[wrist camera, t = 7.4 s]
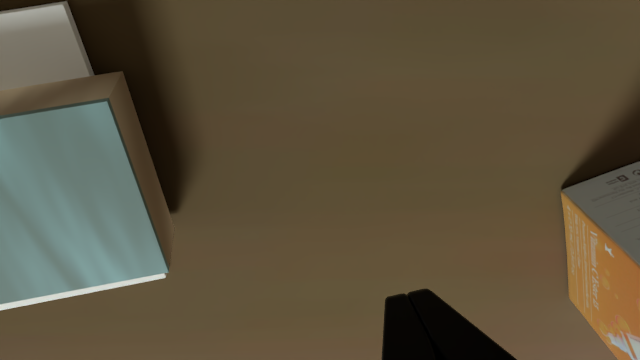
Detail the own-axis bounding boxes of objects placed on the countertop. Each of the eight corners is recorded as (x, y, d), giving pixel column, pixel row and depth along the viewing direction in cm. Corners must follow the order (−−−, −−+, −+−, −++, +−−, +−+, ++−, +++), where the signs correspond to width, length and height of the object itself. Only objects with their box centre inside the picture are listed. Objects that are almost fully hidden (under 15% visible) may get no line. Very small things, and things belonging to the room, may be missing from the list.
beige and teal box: (107, 101, 16) (-169, 146, 15) (168, 272, 19) (-51, 314, 19) (122, 71, 18) (-116, 109, 17) (174, 228, 22) (-20, 264, 21)
